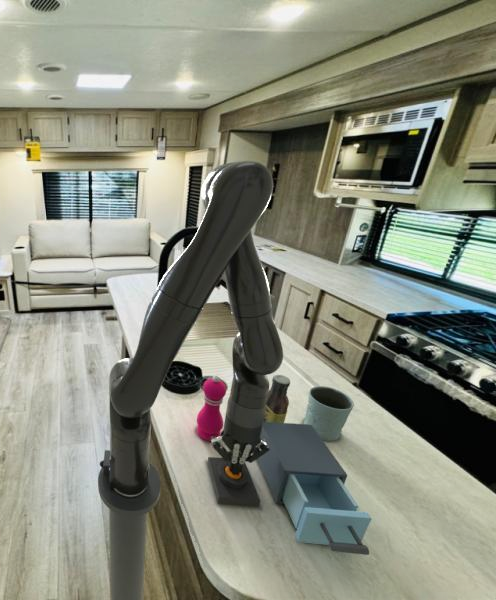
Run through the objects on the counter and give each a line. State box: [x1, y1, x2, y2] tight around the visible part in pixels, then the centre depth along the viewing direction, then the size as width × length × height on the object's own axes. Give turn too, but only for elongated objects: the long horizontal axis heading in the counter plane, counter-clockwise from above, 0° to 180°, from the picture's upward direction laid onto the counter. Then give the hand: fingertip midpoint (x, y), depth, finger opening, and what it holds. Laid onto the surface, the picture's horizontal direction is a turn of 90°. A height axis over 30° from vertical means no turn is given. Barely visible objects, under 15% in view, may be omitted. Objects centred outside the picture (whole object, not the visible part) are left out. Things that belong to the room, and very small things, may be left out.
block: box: [206, 456, 261, 508], centre depth 76 cm, size 9×11×4 cm
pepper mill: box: [196, 375, 227, 442], centre depth 88 cm, size 7×7×20 cm
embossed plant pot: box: [303, 385, 355, 442], centre depth 89 cm, size 10×10×12 cm
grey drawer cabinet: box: [256, 422, 348, 505], centre depth 75 cm, size 15×13×11 cm
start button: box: [225, 466, 242, 480], centre depth 75 cm, size 4×4×2 cm
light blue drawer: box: [282, 473, 373, 556], centre depth 65 cm, size 18×11×9 cm, turn 174°
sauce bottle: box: [264, 374, 291, 423], centre depth 87 cm, size 6×6×20 cm
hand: (234, 471), depth 75 cm, fingers closed
